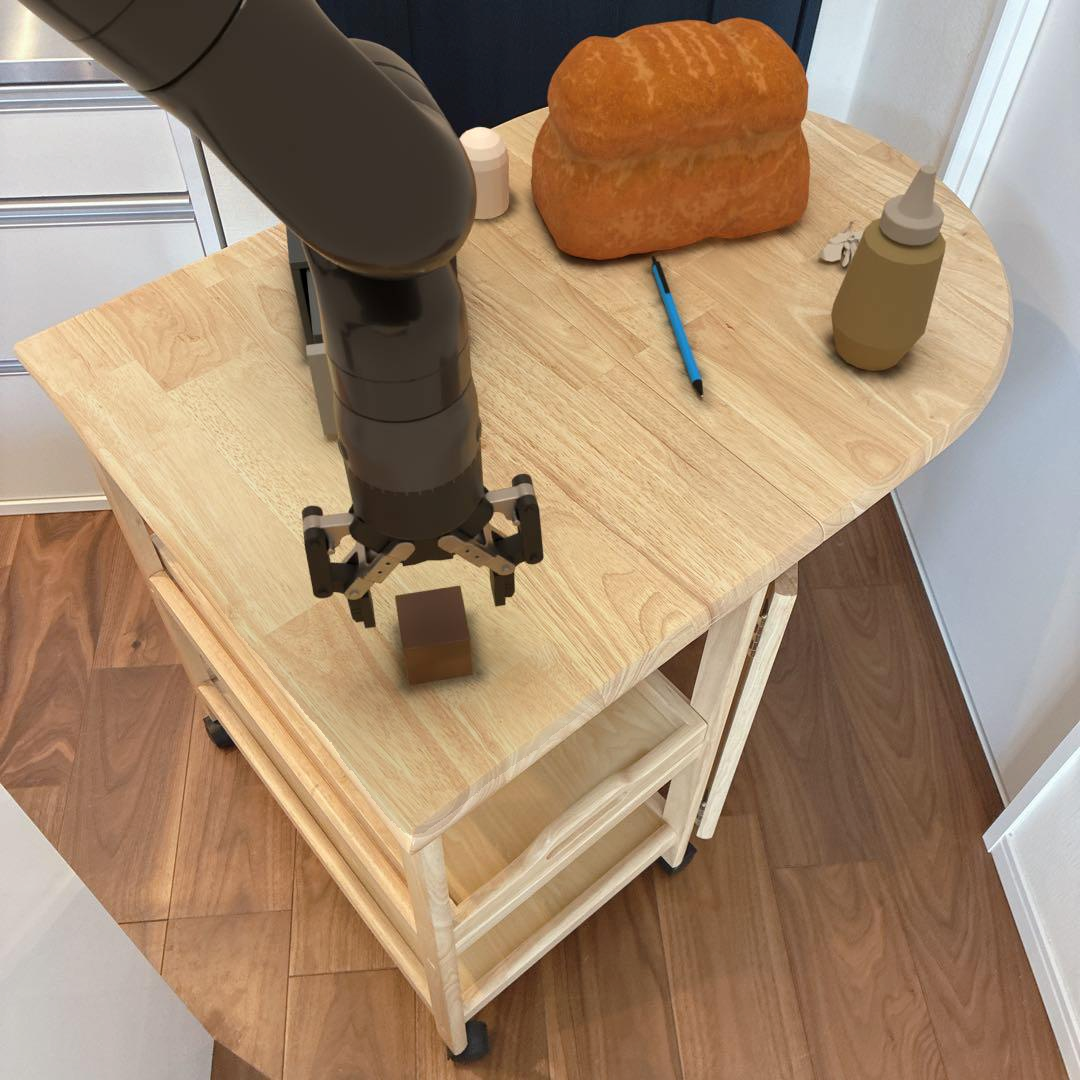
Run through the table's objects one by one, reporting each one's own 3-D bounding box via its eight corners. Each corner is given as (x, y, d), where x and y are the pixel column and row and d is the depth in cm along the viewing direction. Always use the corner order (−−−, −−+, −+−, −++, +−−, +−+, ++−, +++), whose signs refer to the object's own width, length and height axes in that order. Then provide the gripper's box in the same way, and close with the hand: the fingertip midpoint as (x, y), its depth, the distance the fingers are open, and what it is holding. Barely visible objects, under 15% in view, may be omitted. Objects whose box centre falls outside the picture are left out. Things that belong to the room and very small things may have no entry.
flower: (909, 288, 101) (919, 268, 99) (831, 299, 100) (839, 279, 97) (881, 231, 104) (890, 210, 102) (805, 241, 103) (812, 220, 101)
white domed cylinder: (520, 202, 107) (519, 130, 101) (483, 226, 105) (480, 153, 98) (482, 182, 109) (479, 109, 103) (445, 204, 107) (440, 131, 100)
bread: (816, 232, 105) (860, 63, 91) (564, 276, 100) (570, 104, 86) (753, 147, 114) (784, -19, 100) (519, 183, 109) (519, 15, 96)
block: (408, 685, 72) (402, 650, 69) (400, 631, 75) (394, 595, 72) (473, 674, 73) (470, 639, 69) (463, 621, 76) (460, 584, 72)
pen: (657, 261, 101) (658, 251, 100) (706, 400, 90) (708, 390, 89) (648, 261, 101) (649, 252, 100) (696, 401, 90) (698, 391, 89)
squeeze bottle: (924, 338, 95) (994, 157, 81) (899, 393, 91) (968, 212, 76) (838, 309, 97) (891, 129, 83) (809, 362, 93) (860, 181, 79)
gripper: (527, 370, 60) (529, 545, 73) (273, 405, 58) (321, 578, 71) (554, 467, 55) (551, 635, 68) (279, 508, 54) (329, 673, 66)
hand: (433, 606), depth 70 cm, fingers open, 8 cm apart
